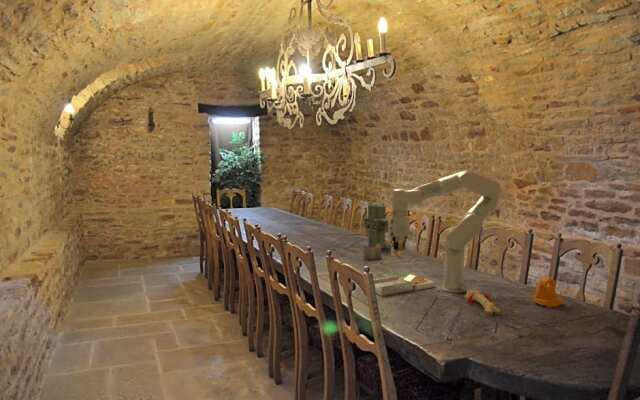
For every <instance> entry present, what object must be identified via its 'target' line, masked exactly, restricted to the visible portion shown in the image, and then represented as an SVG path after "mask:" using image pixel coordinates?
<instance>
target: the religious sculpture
mask: <svg viewBox="0 0 640 400" xmlns="http://www.w3.org/2000/svg"><path fill="white" fill-rule="evenodd" d="M367 210H368V211H367V216H364V217H363V228H364V229H365V230H367V233H368V237H367V238H368V240H367V241H368V242H367V243H368V248H370V247H376V244H379V245H380V246H381V249H385V248H386V242H387V240H386V237H385V234H386V233H389V224H390V222H389V219H387V218H386V214H387V212H386V205H382V204H368V205H367Z"/></svg>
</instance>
